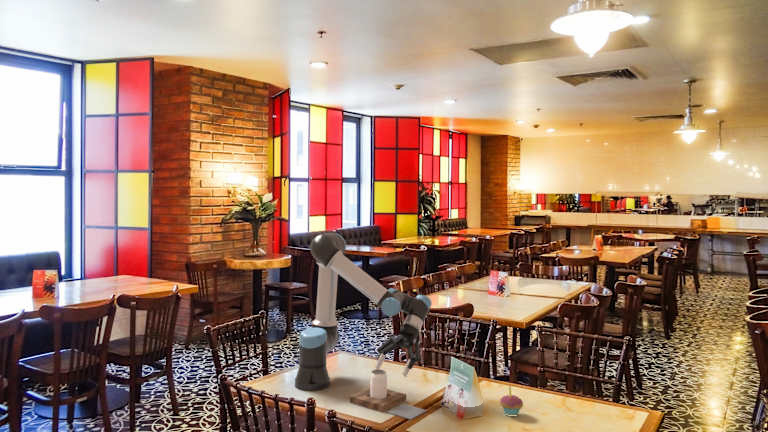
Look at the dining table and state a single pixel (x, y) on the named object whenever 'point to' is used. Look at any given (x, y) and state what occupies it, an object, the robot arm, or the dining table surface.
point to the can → (378, 384)
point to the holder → (376, 404)
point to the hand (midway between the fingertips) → (390, 371)
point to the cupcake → (511, 403)
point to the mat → (406, 411)
